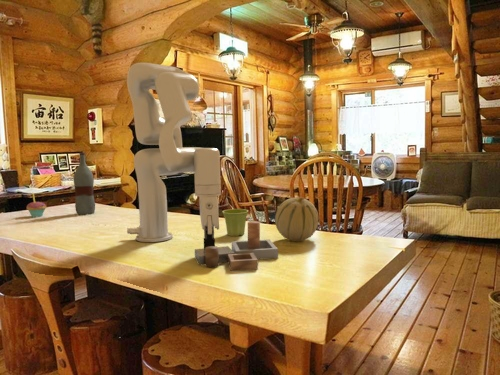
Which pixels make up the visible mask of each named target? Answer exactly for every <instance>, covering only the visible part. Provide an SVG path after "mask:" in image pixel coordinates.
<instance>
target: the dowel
mask: <svg viewBox="0 0 500 375" xmlns="http://www.w3.org/2000/svg"><path fill="white" fill-rule="evenodd" d="M260 228H261V223H260V221H257V220H256V221H255V220H253V221H248V222H247V241H248V250H249V249H260V240H261V238H260V237H261V234H260V233H261V229H260Z"/></svg>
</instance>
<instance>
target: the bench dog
mask: <svg viewBox="0 0 500 375" xmlns="http://www.w3.org/2000/svg"><path fill="white" fill-rule="evenodd" d="M218 247H219V246H216V245H215V246H208V247H205V262H206V265H205V267H206V268H208V269H212V268H213V269H214V268H219V266H220V263H219V248H218Z"/></svg>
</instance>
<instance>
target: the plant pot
mask: <svg viewBox="0 0 500 375" xmlns="http://www.w3.org/2000/svg"><path fill="white" fill-rule="evenodd" d="M221 212H222V214H223V217H224V220H225V226H226V233H227V235H228V236H231V237H238V236H244V235H245V230H246V222H247V216H248V213H249V210H248V209H245V208H244V209H243V208H232V209H231V208H229V209H225V210H222V211H221Z"/></svg>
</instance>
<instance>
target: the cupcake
mask: <svg viewBox="0 0 500 375" xmlns="http://www.w3.org/2000/svg"><path fill="white" fill-rule="evenodd" d="M32 200H33V202H30V203H28V204H27V205H26V210H28V212H29V214H30V216H31V218H39V217H43V216H44V212H45V210H46V209H47V204H45V203H44V202H42V201H36V199H35V193H32Z"/></svg>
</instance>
